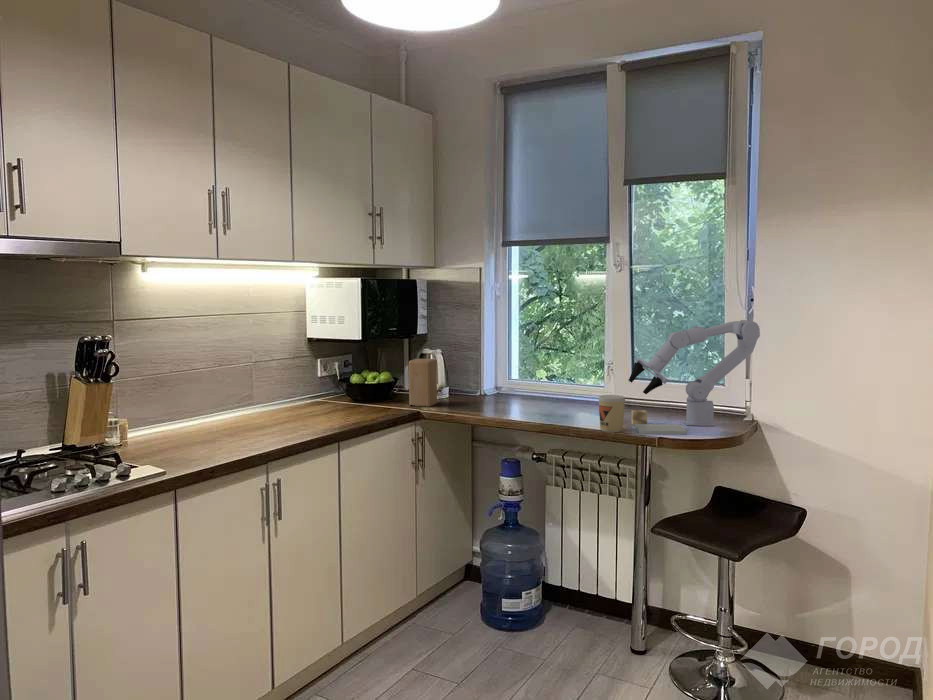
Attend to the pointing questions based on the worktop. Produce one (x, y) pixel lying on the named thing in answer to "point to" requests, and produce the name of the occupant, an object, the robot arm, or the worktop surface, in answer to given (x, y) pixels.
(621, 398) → the coffee cup
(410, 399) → the wooden block
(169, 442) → the worktop surface
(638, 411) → the maple cube
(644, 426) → the gray board
